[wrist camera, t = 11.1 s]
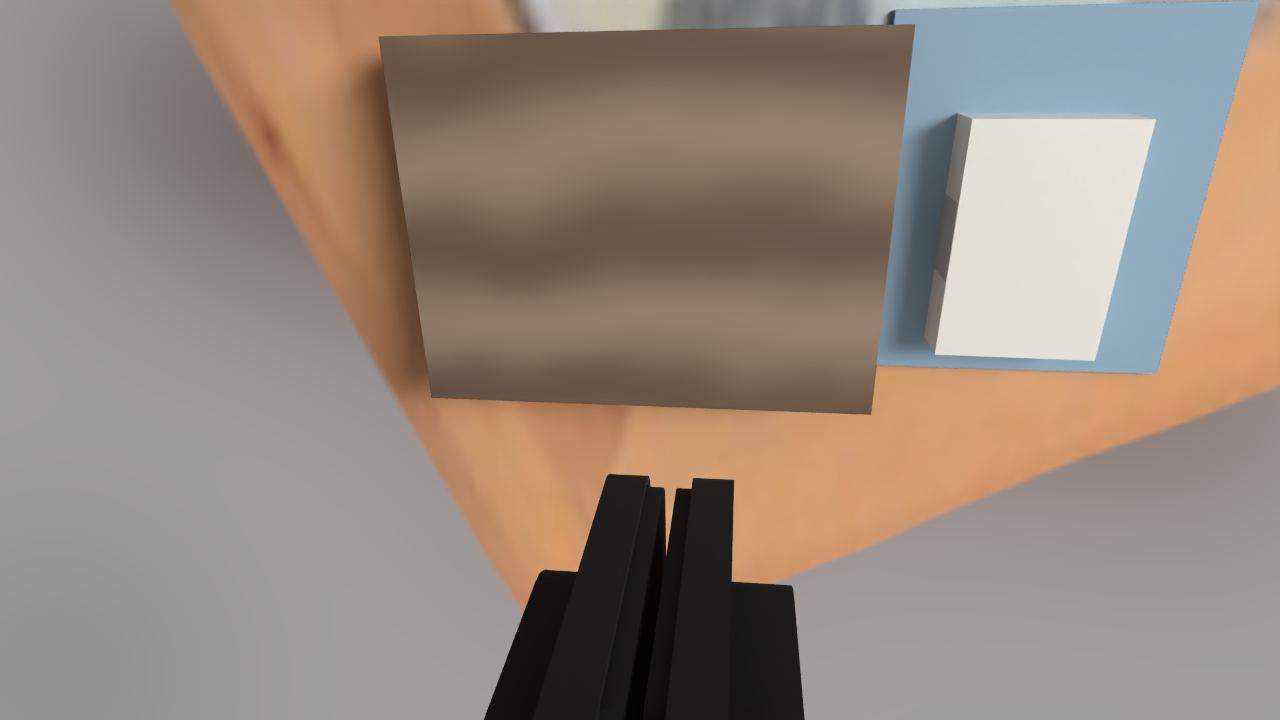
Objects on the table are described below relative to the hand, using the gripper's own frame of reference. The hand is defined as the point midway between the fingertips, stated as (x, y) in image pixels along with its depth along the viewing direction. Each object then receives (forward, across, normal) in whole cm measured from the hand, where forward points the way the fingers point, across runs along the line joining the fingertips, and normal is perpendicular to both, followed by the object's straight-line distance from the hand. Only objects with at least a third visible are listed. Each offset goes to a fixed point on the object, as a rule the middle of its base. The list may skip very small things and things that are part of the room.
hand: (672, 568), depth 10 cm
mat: (+23, -12, 0) cm, 26 cm away
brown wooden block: (+23, +3, 0) cm, 23 cm away
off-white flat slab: (+22, -12, +1) cm, 25 cm away
